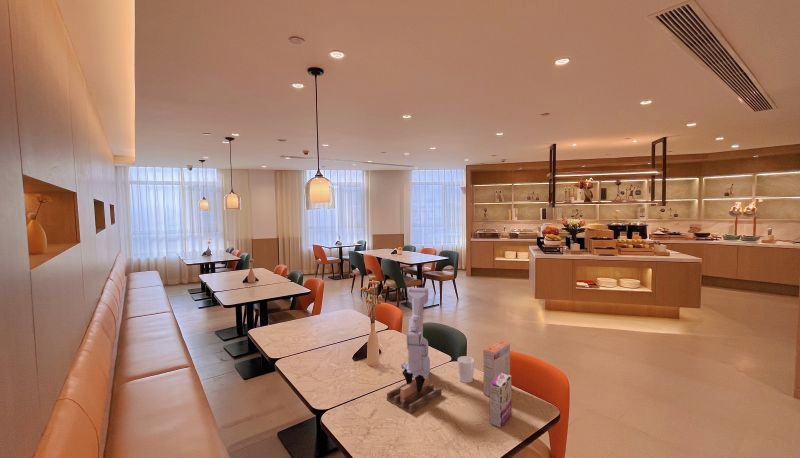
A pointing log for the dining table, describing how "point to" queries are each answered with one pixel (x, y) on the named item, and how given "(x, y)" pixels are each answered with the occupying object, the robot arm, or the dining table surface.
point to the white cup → (465, 369)
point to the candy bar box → (500, 400)
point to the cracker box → (495, 363)
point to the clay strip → (410, 389)
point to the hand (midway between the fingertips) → (414, 388)
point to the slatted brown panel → (414, 397)
